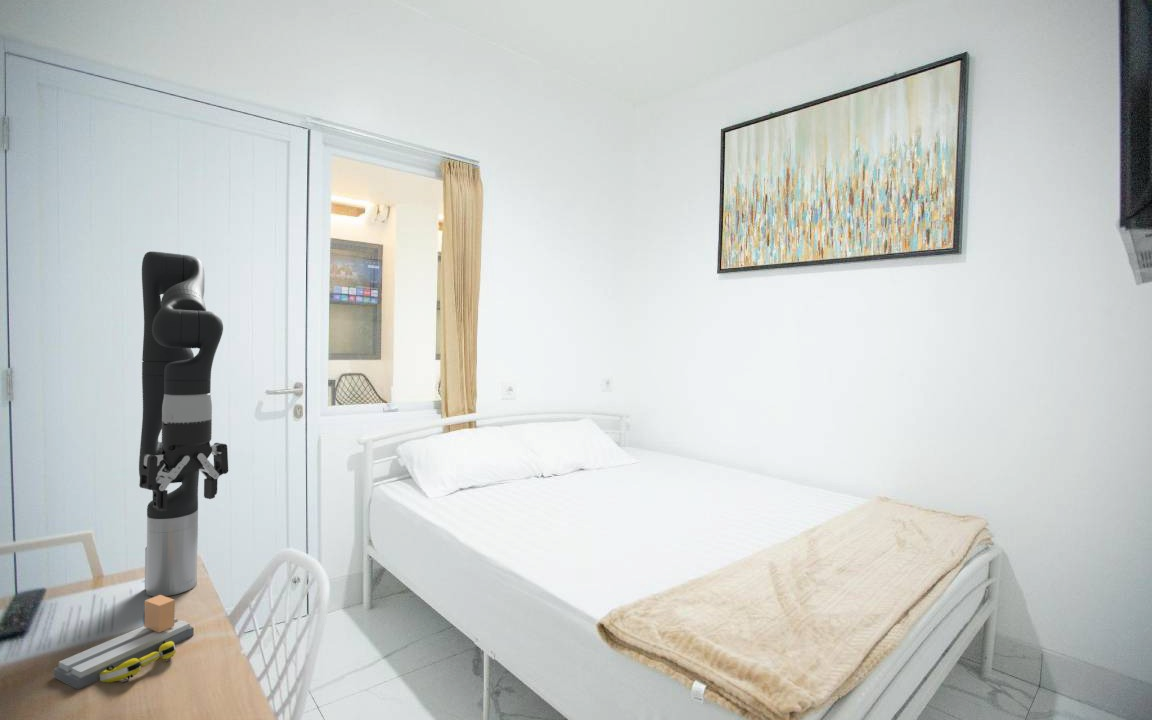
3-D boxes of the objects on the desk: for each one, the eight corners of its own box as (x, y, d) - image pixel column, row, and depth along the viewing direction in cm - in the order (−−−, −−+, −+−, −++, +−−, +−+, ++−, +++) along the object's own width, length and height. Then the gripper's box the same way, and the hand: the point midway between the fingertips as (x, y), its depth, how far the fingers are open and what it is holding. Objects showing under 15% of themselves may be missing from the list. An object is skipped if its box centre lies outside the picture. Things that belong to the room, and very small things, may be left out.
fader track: (77, 689, 87) (77, 673, 87) (53, 677, 90) (54, 662, 90) (193, 635, 104) (193, 621, 104) (170, 626, 107) (170, 613, 106)
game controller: (123, 686, 87) (118, 665, 88) (101, 690, 90) (97, 669, 90) (187, 654, 96) (183, 635, 97) (166, 659, 99) (162, 640, 99)
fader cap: (159, 638, 99) (159, 605, 99) (144, 632, 101) (144, 600, 101) (174, 631, 102) (174, 599, 102) (159, 626, 104) (160, 594, 103)
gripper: (212, 411, 108) (211, 492, 109) (131, 420, 95) (130, 511, 96) (238, 415, 105) (236, 497, 106) (157, 424, 92) (156, 518, 93)
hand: (186, 504), depth 101 cm, fingers open, 8 cm apart
